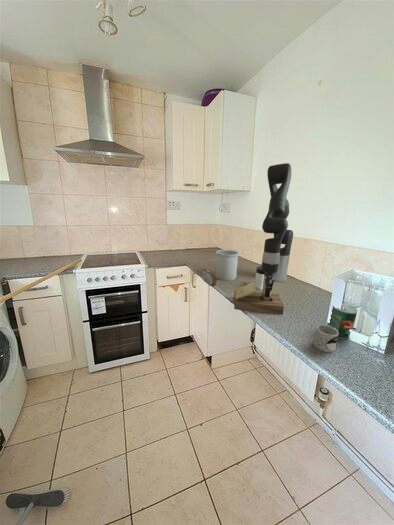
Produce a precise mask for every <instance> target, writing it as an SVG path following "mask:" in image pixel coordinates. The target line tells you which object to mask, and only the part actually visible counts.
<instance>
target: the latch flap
mask: <svg viewBox="0 0 394 525" xmlns="http://www.w3.org/2000/svg"><path fill="white" fill-rule="evenodd" d="M235 290H236V300H238V299H240V298H243V297H245V296H247V295H250V294H252V293H255V292H257V288H255V281H254V282H251V283H248V284H245V285H243V286H241V287H238V288H236V289H235Z"/></svg>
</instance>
